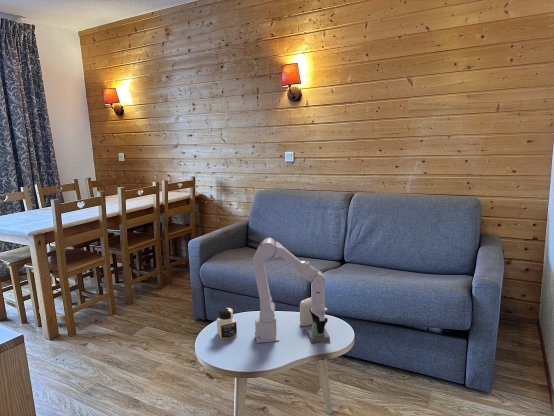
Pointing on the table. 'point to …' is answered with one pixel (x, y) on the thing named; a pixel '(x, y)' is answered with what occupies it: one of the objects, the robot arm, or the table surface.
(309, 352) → the table surface
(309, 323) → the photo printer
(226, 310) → the medicine bottle
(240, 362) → the table surface
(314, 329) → the cube
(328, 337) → the base
